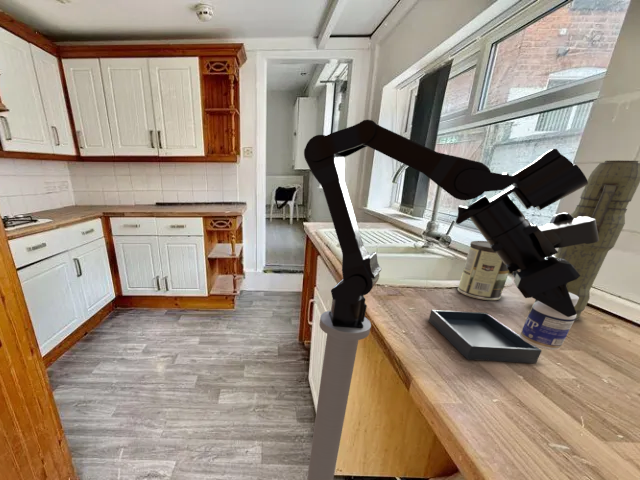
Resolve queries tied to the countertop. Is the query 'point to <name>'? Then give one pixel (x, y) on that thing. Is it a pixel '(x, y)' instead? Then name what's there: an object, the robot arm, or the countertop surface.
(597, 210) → the stone statue
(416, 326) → the countertop surface
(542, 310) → the pill bottle
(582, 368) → the countertop surface
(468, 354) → the tray
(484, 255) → the coffee can
